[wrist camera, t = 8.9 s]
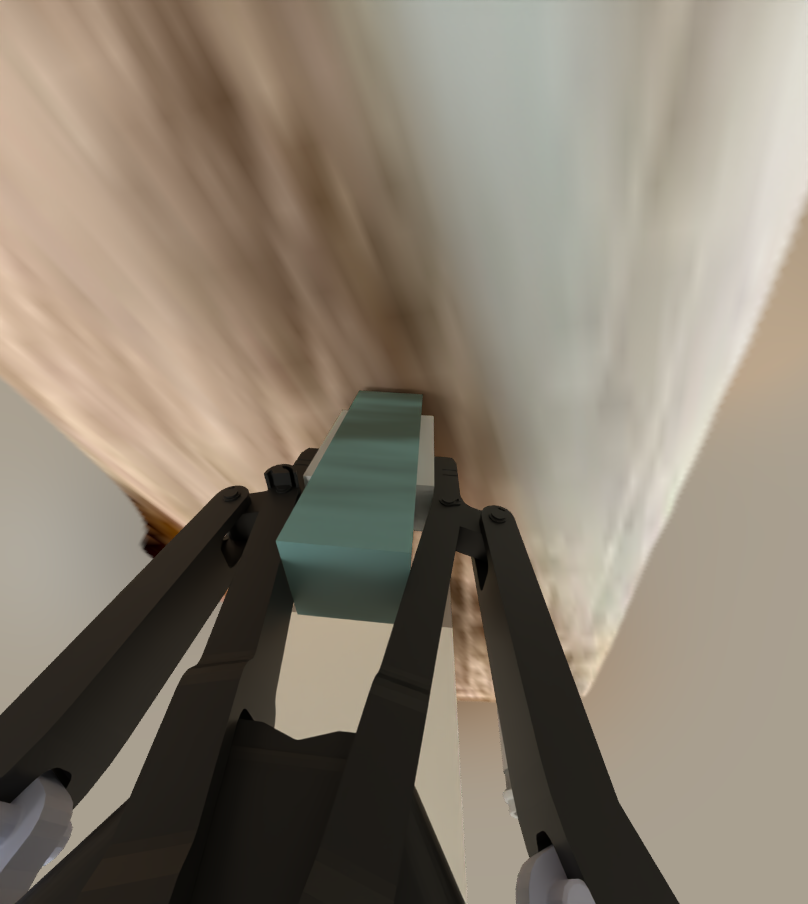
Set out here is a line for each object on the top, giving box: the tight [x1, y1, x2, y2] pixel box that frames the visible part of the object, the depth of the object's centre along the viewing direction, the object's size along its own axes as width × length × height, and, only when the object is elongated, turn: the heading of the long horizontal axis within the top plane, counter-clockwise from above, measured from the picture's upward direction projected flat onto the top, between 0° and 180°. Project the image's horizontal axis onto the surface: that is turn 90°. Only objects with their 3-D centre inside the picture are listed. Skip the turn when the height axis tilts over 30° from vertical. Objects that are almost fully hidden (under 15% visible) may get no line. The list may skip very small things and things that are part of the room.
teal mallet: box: [276, 391, 423, 624], centre depth 19 cm, size 20×4×12 cm, turn 178°
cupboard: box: [274, 584, 468, 904], centre depth 23 cm, size 11×15×22 cm
